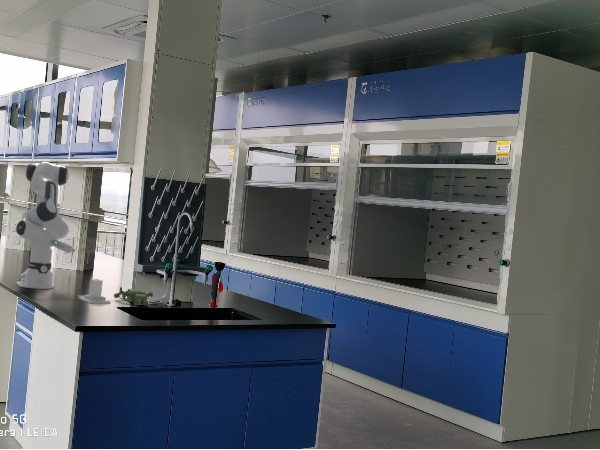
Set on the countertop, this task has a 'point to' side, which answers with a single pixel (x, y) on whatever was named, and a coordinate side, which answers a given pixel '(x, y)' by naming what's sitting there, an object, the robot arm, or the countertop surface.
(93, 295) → the charger
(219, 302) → the countertop surface
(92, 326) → the countertop surface
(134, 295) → the toy
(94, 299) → the outlet plate
